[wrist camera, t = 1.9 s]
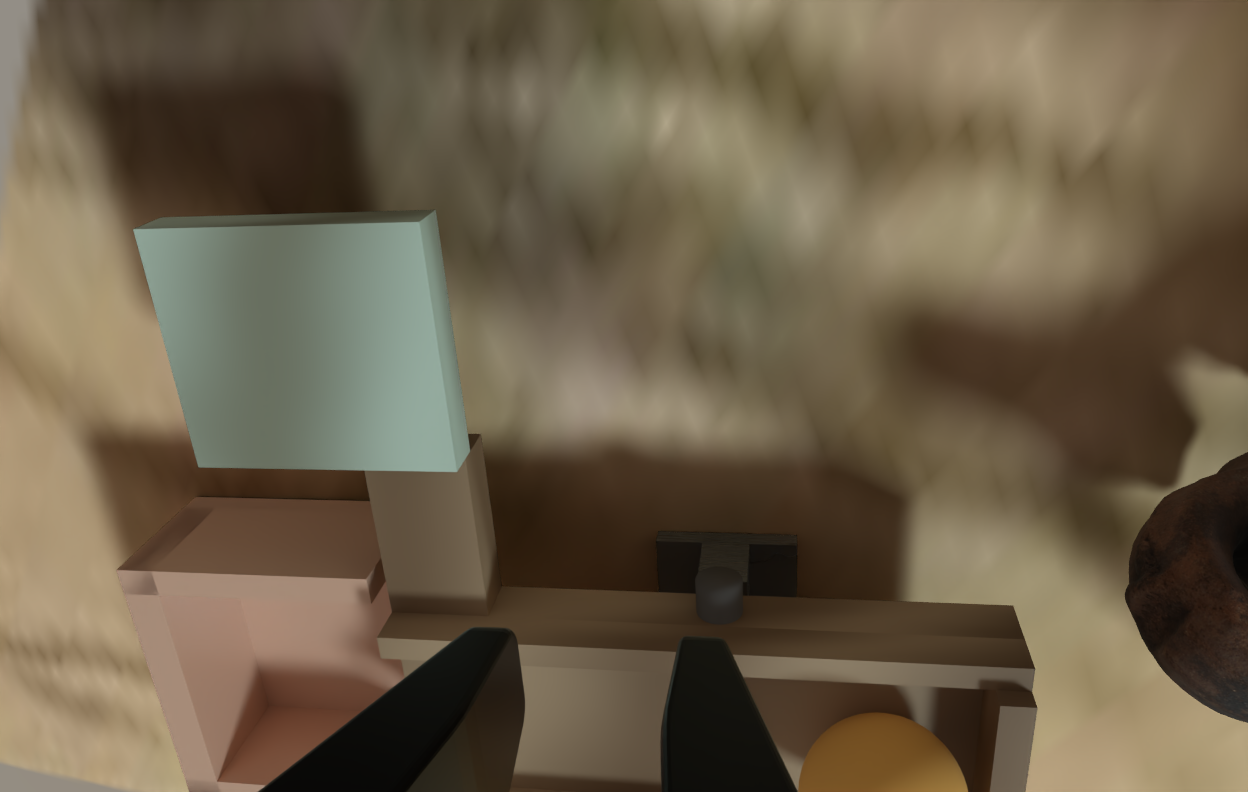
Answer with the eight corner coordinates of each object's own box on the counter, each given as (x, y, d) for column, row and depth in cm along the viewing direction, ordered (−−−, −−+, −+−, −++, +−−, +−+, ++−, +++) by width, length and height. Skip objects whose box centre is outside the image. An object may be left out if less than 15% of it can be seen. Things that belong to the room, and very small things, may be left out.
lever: (1064, 182, 15) (1108, 216, 13) (985, 825, 21) (1007, 918, 19) (183, 208, 17) (107, 240, 15) (325, 777, 23) (283, 854, 21)
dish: (417, 502, 22) (366, 579, 19) (455, 720, 25) (414, 816, 22) (195, 497, 23) (116, 570, 20) (254, 708, 25) (191, 798, 23)
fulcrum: (796, 535, 21) (798, 584, 19) (794, 722, 23) (795, 780, 21) (658, 531, 21) (647, 579, 20) (668, 714, 23) (660, 771, 22)
